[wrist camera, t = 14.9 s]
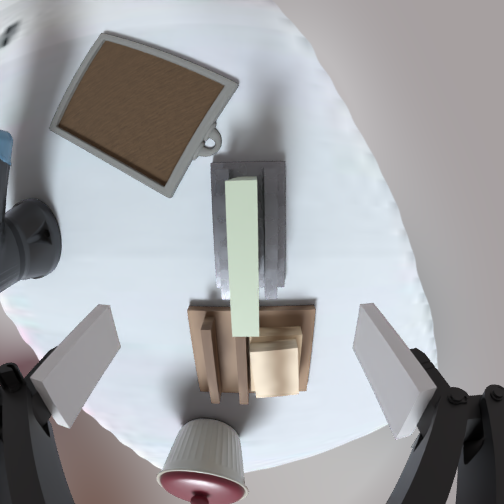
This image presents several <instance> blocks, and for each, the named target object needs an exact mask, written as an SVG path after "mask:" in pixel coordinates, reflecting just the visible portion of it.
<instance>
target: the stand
mask: <svg viewBox="0 0 504 504" xmlns="http://www.w3.org/2000/svg"><path fill="white" fill-rule="evenodd" d="M246 176H257V204H258V272H259V287H264V288H265V299H277V287H284V282H285V161H256V162H223V163H211V191H212V215H213V235H214V253H215V269H216V283H217V288H221V295H222V299H230V289H229V270H228V249H227V225H226V198H225V181H226V180H229V179H233V178H236V177H246Z"/></svg>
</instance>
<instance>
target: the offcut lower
mask: <svg viewBox="0 0 504 504" xmlns="http://www.w3.org/2000/svg"><path fill="white" fill-rule="evenodd" d="M295 338H296V341H297V346H298V375H299V367H300V357H301V346H302V331H301V327H300V326H295V327H259V337H250V343H254V342H266V341H276V340H286V339H295ZM250 370H251V391H255V386H254V379H253V372H252V365H251V358H250Z"/></svg>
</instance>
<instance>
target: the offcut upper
mask: <svg viewBox="0 0 504 504" xmlns="http://www.w3.org/2000/svg"><path fill="white" fill-rule="evenodd" d="M250 358H251V365H252V372H253V379H254V386H255V392H256V398H265V397H277V396H287V395H296V394H299V375H298V346H297V341H296V338H295V339H286V340H276V341H266V342H254V343H250Z"/></svg>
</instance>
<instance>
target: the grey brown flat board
mask: <svg viewBox="0 0 504 504" xmlns="http://www.w3.org/2000/svg"><path fill="white" fill-rule="evenodd" d="M238 86H239V85H238V83H236V82H234V81H232V80H230V79H228V78H226V77H224V76H222V75H219V74H217V73H215V72H213V71H211V70H208V69H206V68H204V67H202V66H199V65H197V64H195V63H192V62H190V61H187V60H185V59H182V58H180V57H177V56H175V55H172V54H169V53H167V52H164V51H161V50H158V49H155V48H152V47H150V46H147V45H143V44H140V43H137V42H134V41H131V40H127V39H124V38H120V37H117V36H113V35H109V34H105V33H101V34H100V36H99V37H98V39H97V40H96V41H95V43H94V44H93V46H92V48H91V49H90V51H89V52H88V54H87V55H86V57H85V59H84V60H83V62H82V64H81V65H80V67H79V69H78V70H77V72H76V74H75V76H74V77H73V79H72V81H71V83H70V85H69V87H68V89H67V90H66V92H65V94H64V96H63V98H62V100H61V102H60V105H59V107H58V109H57V111H56V113H55V115H54V118H53V120H52V122H51V125H50V127H49V129H50V130H51V131H53V132H54V133H56V134H58V135H60V136H61V137H63V138H65V139H67V140H68V141H70V142H72V143H74V144H75V145H77V146H79V147H81V148H82V149H84V150H86V151H88V152H89V153H91V154H93V155H95V156H96V157H98V158H100V159H102V160H103V161H105V162H107V163H109V164H110V165H112V166H114V167H116V168H117V169H119V170H121V171H122V172H124V173H126V174H128V175H129V176H131V177H133V178H135V179H136V180H138V181H140V182H142V183H143V184H145V185H147V186H148V187H150V188H152V189H154V190H155V191H157V192H159V193H161V194H162V195H164V196H166V197H168V198H172V196H173V195H174V193H175V191H176V189H177V187H178V185H179V183H180V182H181V180H182V178H183V176H184V174H185V172H186V171H187V169H188V167H189V165H190V164H191V162H192V160H195V159H197V157H198V156H203V157H206V156H211V155H213V154H215V153H217V152H218V150H219V149H220V147H221V136H220V134H219V133H218V131H217V130H216V129H215V127H216V123H215V122H216V120H217V118H218V117H219V115H220V114H221V112H222V111H223V109H224V108H225V106H226V105H227V103H228V101H229V100H230V98H231V97H232V95H233V94H234V93H235V91H236V90H237V88H238ZM209 138H210V139H212V140H214V141H215V143H216V144H215V146H214V148H212V149H209V148H206V147H204V145H205V142H203V141H207V140H208V139H209Z"/></svg>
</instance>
